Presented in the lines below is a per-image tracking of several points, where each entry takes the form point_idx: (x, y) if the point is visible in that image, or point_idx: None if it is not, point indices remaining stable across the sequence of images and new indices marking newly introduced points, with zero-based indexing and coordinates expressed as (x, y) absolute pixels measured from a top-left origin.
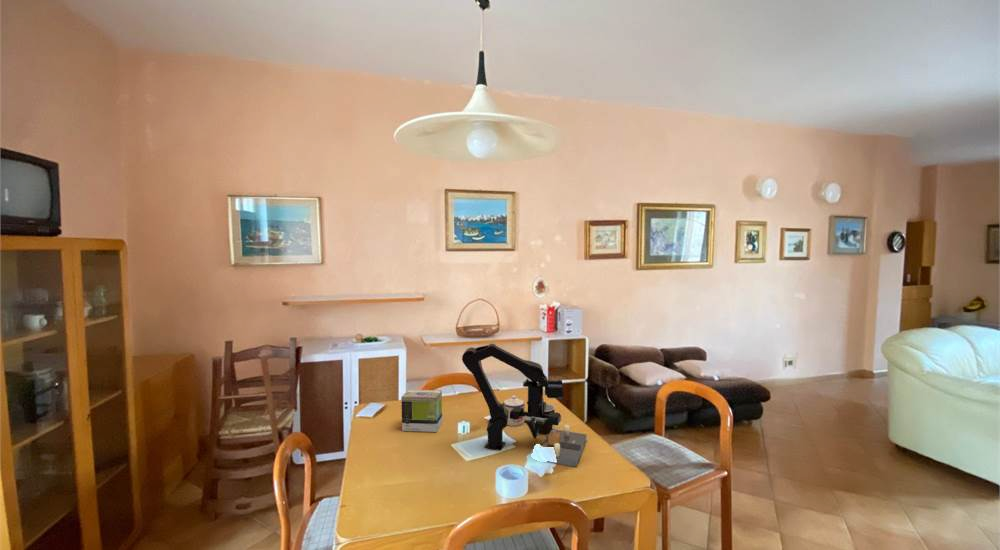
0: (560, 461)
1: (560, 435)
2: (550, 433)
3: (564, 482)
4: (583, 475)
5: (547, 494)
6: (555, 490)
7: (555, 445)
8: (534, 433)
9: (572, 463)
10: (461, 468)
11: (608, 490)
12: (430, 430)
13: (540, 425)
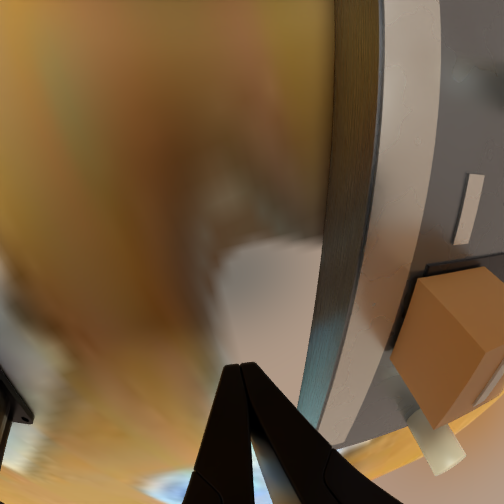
0: None
1: (497, 96)
2: (463, 395)
3: (404, 444)
4: None
5: None
6: (372, 472)
7: (437, 474)
8: (259, 463)
9: None
10: (53, 495)
11: (496, 397)
12: None
13: (379, 499)
